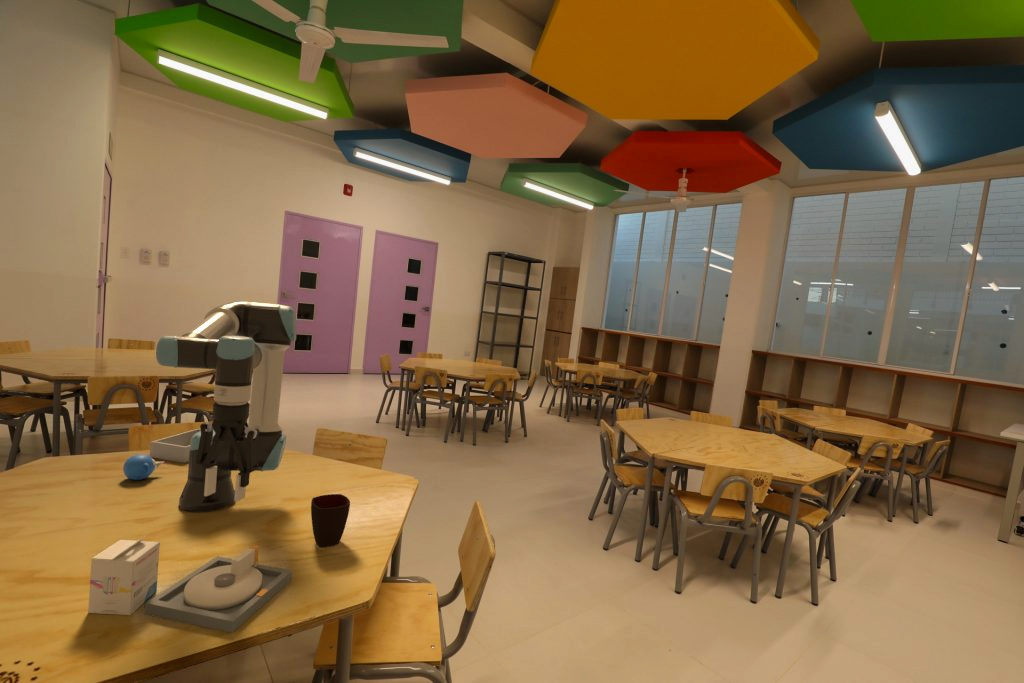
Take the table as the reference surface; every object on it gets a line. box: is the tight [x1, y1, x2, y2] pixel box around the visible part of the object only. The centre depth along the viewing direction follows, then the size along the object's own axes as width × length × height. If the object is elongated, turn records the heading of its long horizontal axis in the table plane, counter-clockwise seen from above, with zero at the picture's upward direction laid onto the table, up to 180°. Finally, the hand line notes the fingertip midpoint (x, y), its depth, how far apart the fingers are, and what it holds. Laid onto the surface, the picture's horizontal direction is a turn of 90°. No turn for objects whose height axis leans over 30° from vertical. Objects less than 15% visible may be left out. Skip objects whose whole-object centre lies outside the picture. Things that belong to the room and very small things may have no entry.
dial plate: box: [143, 555, 293, 634], centre depth 108 cm, size 20×20×3 cm
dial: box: [184, 545, 262, 610], centre depth 109 cm, size 18×15×5 cm
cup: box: [310, 493, 351, 548], centre depth 137 cm, size 10×14×12 cm
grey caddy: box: [149, 428, 201, 463], centre depth 196 cm, size 15×23×6 cm, turn 172°
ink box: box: [87, 534, 161, 616], centre depth 102 cm, size 9×8×13 cm
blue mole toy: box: [122, 453, 166, 481], centre depth 166 cm, size 12×12×8 cm
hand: (224, 496), depth 115 cm, fingers open, 7 cm apart
